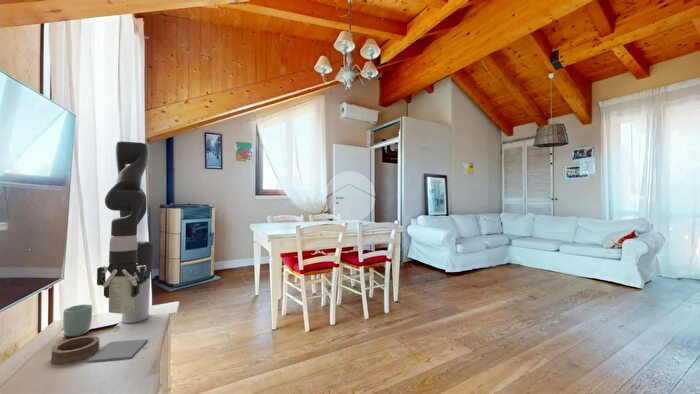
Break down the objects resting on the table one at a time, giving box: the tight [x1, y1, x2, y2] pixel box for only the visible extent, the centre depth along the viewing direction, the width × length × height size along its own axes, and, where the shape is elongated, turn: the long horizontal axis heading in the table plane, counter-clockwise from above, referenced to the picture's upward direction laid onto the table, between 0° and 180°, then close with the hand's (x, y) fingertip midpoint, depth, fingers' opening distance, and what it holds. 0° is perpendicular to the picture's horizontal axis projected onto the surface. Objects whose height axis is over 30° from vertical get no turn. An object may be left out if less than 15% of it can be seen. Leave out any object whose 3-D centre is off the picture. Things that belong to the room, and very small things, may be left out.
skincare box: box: [108, 275, 135, 315], centre depth 98 cm, size 6×4×12 cm
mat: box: [87, 338, 149, 363], centre depth 98 cm, size 12×12×1 cm
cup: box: [62, 303, 93, 338], centre depth 108 cm, size 8×8×10 cm
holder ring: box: [50, 335, 100, 365], centre depth 95 cm, size 11×11×4 cm
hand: (121, 296), depth 98 cm, fingers closed on skincare box, 7 cm apart
